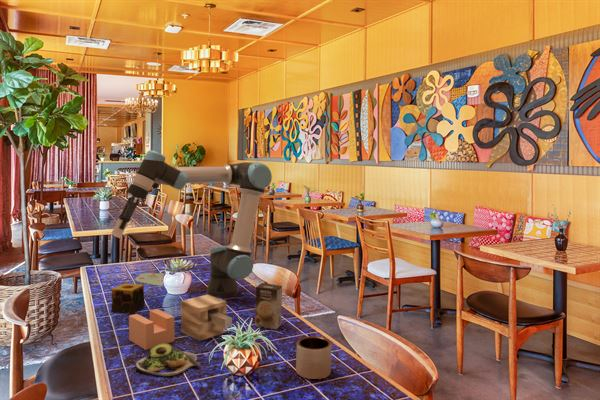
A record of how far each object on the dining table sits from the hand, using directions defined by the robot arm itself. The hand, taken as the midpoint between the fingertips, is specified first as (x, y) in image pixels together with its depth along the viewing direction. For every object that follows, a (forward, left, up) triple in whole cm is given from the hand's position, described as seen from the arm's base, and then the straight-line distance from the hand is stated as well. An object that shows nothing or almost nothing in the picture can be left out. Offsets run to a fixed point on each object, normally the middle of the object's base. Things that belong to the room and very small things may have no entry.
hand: (115, 235), depth 181 cm
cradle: (0, +27, -34) cm, 44 cm away
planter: (-23, +84, -35) cm, 94 cm away
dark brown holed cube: (-10, -11, -35) cm, 38 cm away
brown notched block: (-18, +33, -34) cm, 51 cm away
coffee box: (-40, +45, -35) cm, 70 cm away
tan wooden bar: (-18, +37, -28) cm, 50 cm away
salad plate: (+6, +47, -35) cm, 59 cm away
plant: (-44, -47, -35) cm, 73 cm away
